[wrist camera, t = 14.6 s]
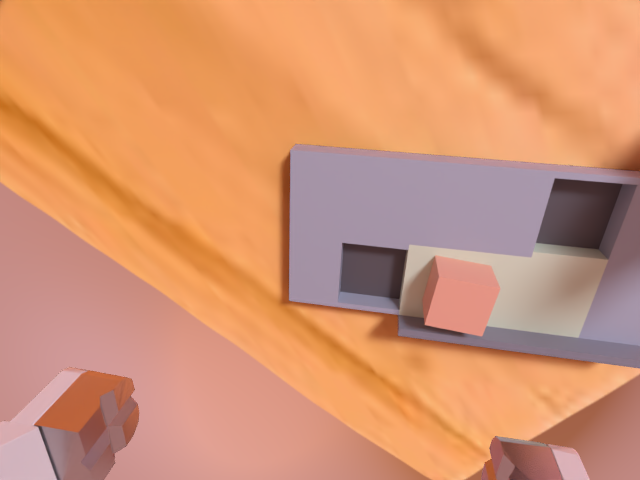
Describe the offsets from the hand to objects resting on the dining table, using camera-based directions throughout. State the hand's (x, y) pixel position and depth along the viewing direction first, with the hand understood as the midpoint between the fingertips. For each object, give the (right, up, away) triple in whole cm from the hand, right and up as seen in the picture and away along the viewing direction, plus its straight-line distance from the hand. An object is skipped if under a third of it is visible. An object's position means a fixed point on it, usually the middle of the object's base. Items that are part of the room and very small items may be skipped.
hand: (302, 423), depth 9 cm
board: (+13, +4, +26) cm, 29 cm away
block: (+12, +1, +26) cm, 28 cm away
